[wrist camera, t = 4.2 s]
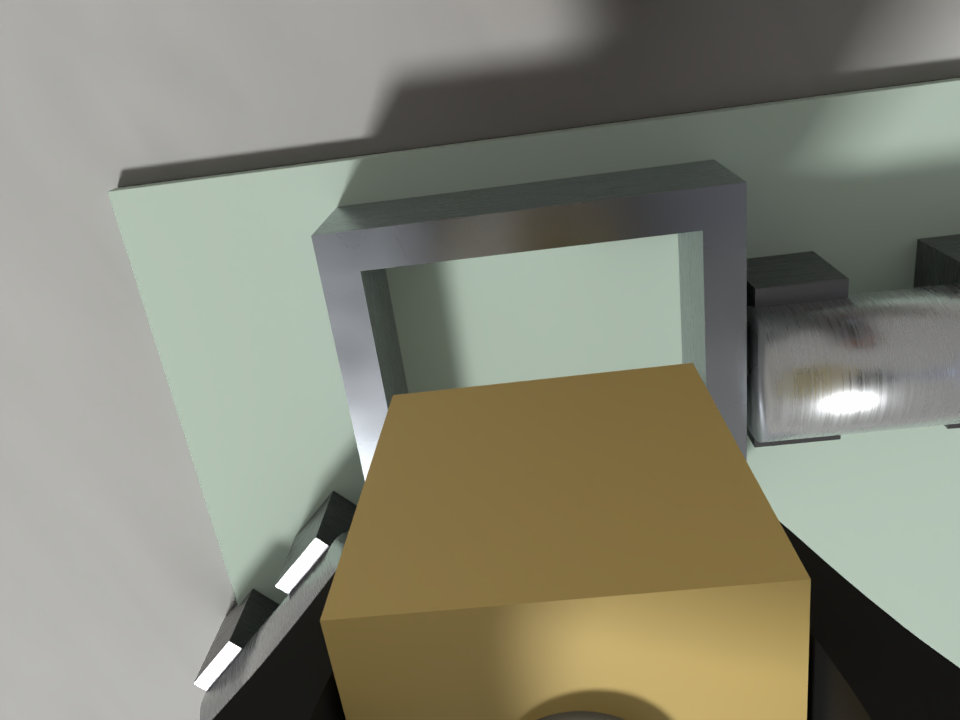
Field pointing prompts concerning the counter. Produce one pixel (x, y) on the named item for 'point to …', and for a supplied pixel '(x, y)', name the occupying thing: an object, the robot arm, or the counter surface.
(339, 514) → the shaft
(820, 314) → the shaft
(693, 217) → the frame
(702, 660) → the yellow block
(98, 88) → the counter surface
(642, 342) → the mat
